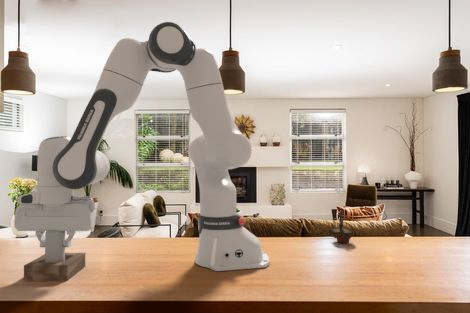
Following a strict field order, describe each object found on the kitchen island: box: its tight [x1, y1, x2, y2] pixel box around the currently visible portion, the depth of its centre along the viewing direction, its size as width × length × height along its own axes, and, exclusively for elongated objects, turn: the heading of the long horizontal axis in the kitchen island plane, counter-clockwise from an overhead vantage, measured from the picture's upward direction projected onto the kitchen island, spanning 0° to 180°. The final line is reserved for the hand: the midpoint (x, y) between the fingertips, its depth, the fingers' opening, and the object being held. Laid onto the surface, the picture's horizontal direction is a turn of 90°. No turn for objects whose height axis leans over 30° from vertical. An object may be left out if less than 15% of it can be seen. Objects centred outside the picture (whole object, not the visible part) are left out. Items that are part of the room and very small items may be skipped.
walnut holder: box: [23, 252, 86, 282], centre depth 91 cm, size 11×11×4 cm
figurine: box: [329, 209, 354, 244], centre depth 123 cm, size 10×8×12 cm
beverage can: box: [44, 231, 66, 263], centre depth 91 cm, size 5×5×12 cm
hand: (55, 246), depth 91 cm, fingers open, 5 cm apart
